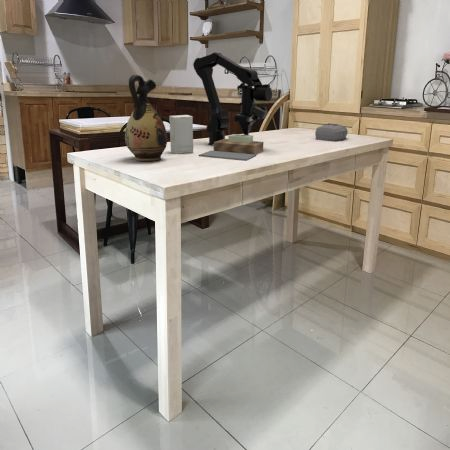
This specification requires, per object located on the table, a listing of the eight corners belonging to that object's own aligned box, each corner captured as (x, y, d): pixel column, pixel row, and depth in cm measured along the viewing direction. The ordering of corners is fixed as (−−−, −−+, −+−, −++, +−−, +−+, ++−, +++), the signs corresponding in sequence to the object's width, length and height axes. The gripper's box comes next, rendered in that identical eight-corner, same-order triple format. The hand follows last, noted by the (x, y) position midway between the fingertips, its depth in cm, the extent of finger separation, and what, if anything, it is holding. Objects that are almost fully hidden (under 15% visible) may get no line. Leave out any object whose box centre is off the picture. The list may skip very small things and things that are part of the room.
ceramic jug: (144, 154, 168) (141, 74, 158) (176, 158, 161) (174, 75, 151) (114, 160, 154) (108, 73, 144) (146, 165, 147) (143, 74, 137)
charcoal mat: (198, 156, 167) (198, 154, 167) (211, 151, 178) (211, 150, 177) (246, 160, 160) (246, 159, 160) (256, 155, 171) (256, 154, 170)
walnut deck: (213, 151, 178) (213, 142, 176) (224, 147, 188) (224, 138, 187) (254, 155, 171) (254, 145, 170) (263, 151, 182) (263, 141, 180)
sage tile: (228, 141, 179) (228, 135, 178) (233, 139, 184) (233, 134, 183) (248, 143, 176) (248, 137, 175) (252, 141, 181) (253, 135, 180)
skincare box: (188, 150, 179) (188, 114, 174) (193, 153, 174) (193, 115, 169) (169, 151, 175) (168, 115, 170) (174, 154, 170) (173, 116, 165)
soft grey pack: (337, 142, 214) (351, 138, 229) (339, 125, 211) (353, 123, 226) (310, 139, 222) (325, 136, 237) (311, 123, 219) (327, 120, 234)
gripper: (259, 102, 170) (257, 141, 175) (272, 100, 186) (270, 136, 191) (233, 100, 174) (232, 139, 179) (248, 99, 190) (246, 134, 195)
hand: (246, 137), depth 186 cm, fingers closed
